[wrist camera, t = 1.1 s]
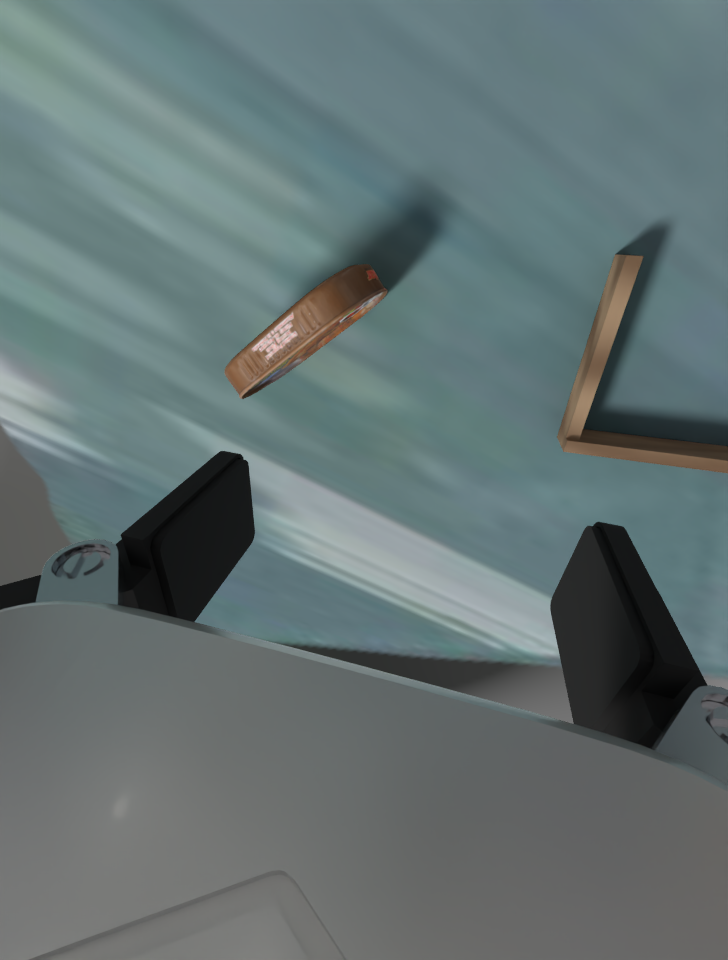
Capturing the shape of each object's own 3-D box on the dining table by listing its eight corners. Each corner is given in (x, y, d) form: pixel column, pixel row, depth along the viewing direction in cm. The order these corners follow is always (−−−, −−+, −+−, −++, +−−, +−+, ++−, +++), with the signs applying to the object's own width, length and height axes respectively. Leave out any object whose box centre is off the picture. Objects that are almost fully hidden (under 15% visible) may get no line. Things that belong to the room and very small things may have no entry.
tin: (271, 384, 39) (227, 416, 32) (251, 357, 38) (200, 383, 31) (398, 289, 32) (377, 302, 25) (376, 252, 31) (348, 255, 24)
